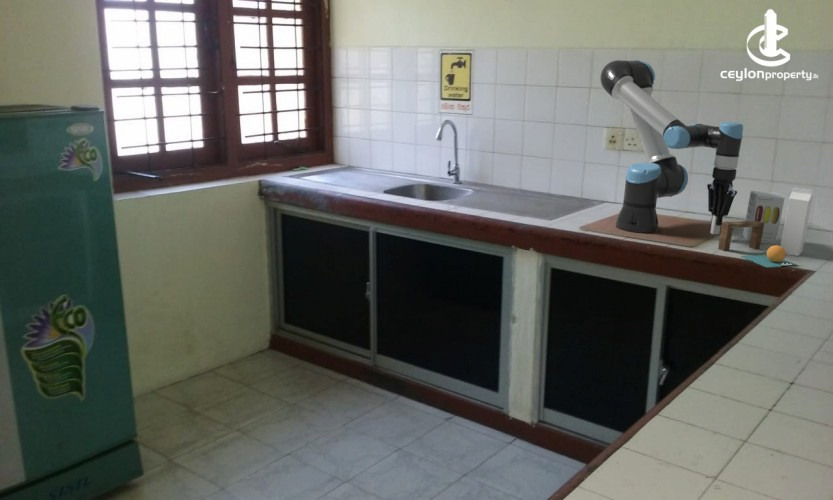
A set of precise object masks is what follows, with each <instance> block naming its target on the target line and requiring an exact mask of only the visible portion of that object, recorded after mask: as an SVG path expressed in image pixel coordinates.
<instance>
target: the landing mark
mask: <svg viewBox="0 0 833 500" xmlns="http://www.w3.org/2000/svg"><path fill="white" fill-rule="evenodd" d="M740 257H741V258H743V259H745V258H746V259H745V260H748V259H749V260H748V261H750V260H751V261H750V262H752V261H753V263H755V264H757V265H760V266H762V267H765V268H782V267H781V266H783V265H781V264H782V263H784V264H786V263H788V264H790V263H791V264H792V265H797V264H796V263H793V262H791V261H788V260H786V259H785V258H784V259H783V260H782V261H781V262H772V261H770V260H769V259H768V257H767V253H765V254H754V255H753V254H751V255H740Z"/></svg>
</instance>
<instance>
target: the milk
mask: <svg viewBox="0 0 833 500" xmlns="http://www.w3.org/2000/svg"><path fill="white" fill-rule="evenodd" d="M812 202H813V189H808V188H801V187H792V190H791V194H790V196H789V198H788V203H787V210H786V214H785V220H784V225H783V230H782V236H781V240H780V241H781V242H780V245H779V246H781V247H782V248H784V250H785V252H786V255H790V256H796V257H799V256H800V255H801V254H802V252H803V249H804V243H805V239H806V234H807V227H808V223H809V217H810V212H811V207H812Z"/></svg>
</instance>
